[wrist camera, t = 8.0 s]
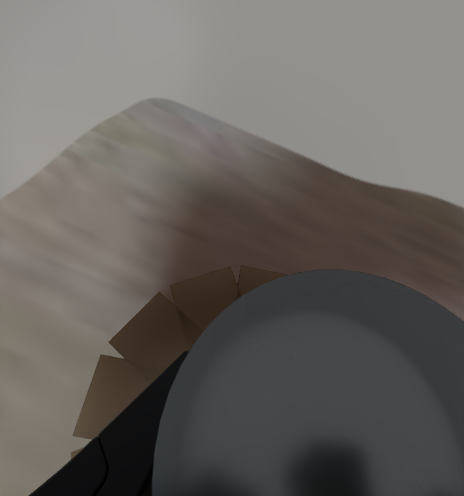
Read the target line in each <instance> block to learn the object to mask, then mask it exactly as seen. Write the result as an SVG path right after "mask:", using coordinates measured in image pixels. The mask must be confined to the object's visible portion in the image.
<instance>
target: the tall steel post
mask: <svg viewBox="0 0 464 496" xmlns="http://www.w3.org/2000/svg"><path fill="white" fill-rule="evenodd" d="M152 496H464V322H463V321H462V320H461V319H459V318H458V317H457V316H455V315H454V314H453V313H451V312H450V311H449V310H448V309H446V308H445V307H443V306H441V305H440V304H438V303H437V302H435V301H433V300H432V299H430V298H429V297H427V296H425V295H423V294H421V293H419V292H417V291H415V290H413V289H411V288H409V287H407V286H405V285H402V284H400V283H397V282H394V281H391V280H389V279H386V278H383V277H379V276H375V275H371V274H367V273H363V272H355V271H347V270H314V271H306V272H299V273H295V274H291V275H288V276H284V277H280V278H277V279H275V280H273V281H270V282H268V283H265V284H263V285H260V286H259V287H257V288H255V289H253V290H252V291H250V292H248V293H246V294H245V295H243V296H241V297H240V298H239V299H237V300H236V301H235V302H234V303H232V304H231V305H230V306H228V307H227V308H226V309H224V310H223V311H222V312H221V313H220V314H219V315H218V316H217V317H216V318H215V319H214V320H213V321H212V322H211V323H210V324H209V325H208V327H207V328H206V329H205V330H204V332H203V333H202V334H201V336H200V337H199V338H198V339H197V341H196V342H195V343H194V345H193V346H192V348H191V350H190V351H189V353H188V355H187V356H186V358H185V360H184V361H183V363H182V365H181V367H180V369H179V371H178V373H177V375H176V378H175V380H174V382H173V384H172V387H171V389H170V391H169V394H168V397H167V401H166V404H165V407H164V410H163V414H162V417H161V420H160V425H159V430H158V436H157V441H156V447H155V452H154V465H153V479H152Z"/></svg>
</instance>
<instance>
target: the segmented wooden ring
mask: <svg viewBox="0 0 464 496" xmlns="http://www.w3.org/2000/svg"><path fill="white" fill-rule="evenodd" d="M284 276H288V275H287V274H282V273H276V272H271V271H266V270H260V269H255V268H250V267H244V266H241V271H240V275H239V280H238V284H237V283H236V280H235V278H234V275H233V272H232V270H231V267H228V268H224V269H221V270H218V271H215V272H211V273H208V274H205V275H202V276H199V277H195V278H192V279H189V280H186V281H183V282H179V283H176V284H173V285H170V287H171V291H172V294H173V298H174V301H175V304H176V306H175V305H174V304H173V303H172V302H170V301H169V300H168V299H167V298H166V297H165V296H164V295H163V294H161V293H160V292H159V293H158V294H157V295H156V296H155V297H154V298H153V299H152V300H151V301H150V302H149V303H148V304H147V305H146V306H145V307H144V308H143V309H142V310H140V311H139V312H138V313H137V314H136V315H135V316H134V317H133V318H132V319H131V320H130V321H129V322H128V323H127V324H126V325H125V326H124V327H123V328H122V329H121V330H120V331H119V332H118V333H117V334H116V335H115V336H114V337H113V338H112V339H111V340H110V341H109V343H110V344H111V345H112V346H113V347H114V348H115V349H116V350H117V351H118V352H119V353H120V354H121V355H122V356H123V357H124V358H125V359H122V358H117V357H111V356H106V355H100V358H99V361H98V364H97V367H96V370H95V372H94V375H93V378H92V381H91V384H90V387H89V390H88V393H87V396H86V398H85V401H84V404H83V407H82V410H81V413H80V416H79V419H78V422H77V424H76V427H75V430H74V433H73V436H77V437H82V438H87V439H94V438H95V437H98V434H99V433H100V432H101V431H102V430H103V429H104V428H105V427H106V426H107V425H108V424H109V423H110V422H111V421H112V420H113V419H115V418H116V417H117V416H118V415H119V414H120V413H121V412H122V411H123V410H124V409H125V408H126V407H127V406H128V405H129V404H130V403H131V402H132V401H133V400H134V399H135V398H136V397H137V396H138V395H139V394H140V393H142V392H143V391H144V390H145V389H146V388H147V387H148V386H149V385H150V384H151V383H152V382H153V381H154V380H155V379H156V378H157V377H158V376H159V375H160V374H161V373H162V372H163V371H164V370H165V369H166V368H167V367H169V366H170V365H171V364H172V363H173V362H174V361H175V360H176V359H177V358H178V357H179V356H180V355H181V354H182V353H183V352H184V351H190V350H191V348H192V346H193V345H194V343H195V342H196V341H197V339H198V338H199V337H200V336H201V334H202V333H203V332H204V330H205V329H206V328H207V327H208V325H209V324H210V323H211V322H212V321H213V320H214V319H215V318H216V317H217V316H218V315H219V314H220V313H221V312H222V311H223V310H224V309H226V308H227V307H228V306H230V305H231V304H232V303H234V302H235V301H236V300H237V299H239V298H240V297H241V296H243V295H245V294H246V293H248V292H250V291H252V290H253V289H255V288H257V287H259V286H260V285H263V284H265V283H268V282H270V281H273V280H275V279H277V278H280V277H284ZM82 449H83V448H81V449H79V450H76V451H74V452H71V459H72V458H73V457H74V456H76V455H77V454H78V453H79V452H80V451H81V450H82Z"/></svg>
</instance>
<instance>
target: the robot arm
mask: <svg viewBox="0 0 464 496" xmlns="http://www.w3.org/2000/svg"><path fill="white" fill-rule="evenodd" d="M188 353H189V351H184V352H183V353H182V354H181V355H180V356H179V357H178V358H177V359H176V360H175V361H174V362H173V363H172V364H171V365H170V366H169V367H167V368H166V369H165V370H164V371H163V372H162V373H161V374H160V375H159V376H158V377H157V378H156V379H155V380H154V381H153V382H152V383H151V384H150V385H149V386H148V387H147V388H146V389H145V390H144V391H143V392H142V393H140V394H139V395H138V396H137V397H136V398H135V399H134V400H133V401H132V402H131V403H130V404H129V405H128V406H127V407H126V408H125V409H124V410H123V411H122V412H121V413H120V414H119V415H118V416H117V417H116V418H115V419H113V420H112V421H111V422H110V423H109V424H108V425H107V426H106V427H105V428H104V429H103V430H102V431H101V432H100V433H99V434H98V437H95V438H94V439H92V440H91V441H90V442H89V443H88V444H87V445H86V446H85V447H84V448H83V449H82V450H81V451H80V452H79V453H78V454H77V455H76V456H74V457H73V458H72V459H71V460H70V461H69V462H68V463H67V464H66V465H65V466H64V467H62V468H61V469H60V470H59V471H58V472H57V473H55V474H54V475H53V476H52V477H51V478H49V479H48V480H47V481H46V482H45V483H43V484H42V485H41V486H40V487H39V488H37V489H36V490H35V491H34V492H33V493H31V494H30V495H29V496H152V479H153V465H154V452H155V447H156V441H157V436H158V430H159V425H160V420H161V417H162V414H163V410H164V407H165V404H166V401H167V397H168V394H169V391H170V389H171V387H172V384H173V382H174V380H175V378H176V375H177V373H178V371H179V369H180V367H181V365H182V363H183V361H184V360H185V358H186V356H187V355H188Z"/></svg>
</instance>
